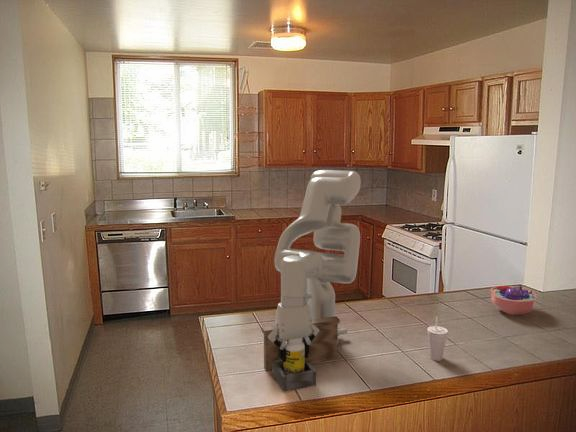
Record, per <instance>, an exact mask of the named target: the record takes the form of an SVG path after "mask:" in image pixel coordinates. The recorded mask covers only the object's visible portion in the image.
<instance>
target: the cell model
mask: <svg viewBox="0 0 576 432" xmlns="http://www.w3.org/2000/svg"><path fill="white" fill-rule="evenodd" d="M490 296H491V297H490V299H491V302H492V304H493V305H494V307H495V308H497V309H498V310H500V311H502V312H503V313H505V314H508V315H510V316H517V315H518V316H519V315H525V314H529V313H530V312H531V311H533V309H534V308H535V304H536V300H537V298H538V295H537V294H536V293H535V292H534V291H533V290H530V289H528V288H525V287H523V286H522V285H520V286H519V285H497V286H496V285H495V286H494V287H491V288H490Z"/></svg>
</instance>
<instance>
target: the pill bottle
mask: <svg viewBox="0 0 576 432" xmlns="http://www.w3.org/2000/svg"><path fill="white" fill-rule="evenodd" d="M284 348H285V349H286V361H285V362H284V372H285V373H286V374H294V373H299V372H304V369H305V345H304V343H303V342H302V338H295V339H290V340H287V342H286V344H285V347H284Z"/></svg>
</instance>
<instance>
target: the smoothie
mask: <svg viewBox="0 0 576 432" xmlns="http://www.w3.org/2000/svg"><path fill="white" fill-rule="evenodd" d="M438 319H439V318H438V316H435V325H431V326H428V327H427V331H426V333H427V336H428V347H429V348H428V349H429V350H428V351H429V358H430V359H431V360H433V361H438V362H440V361H441V360H443V355H444V350H445V345H446V340H447V337H448V335H449V330H448V329H447V328H445V327H443V326H439V325H438Z"/></svg>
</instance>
